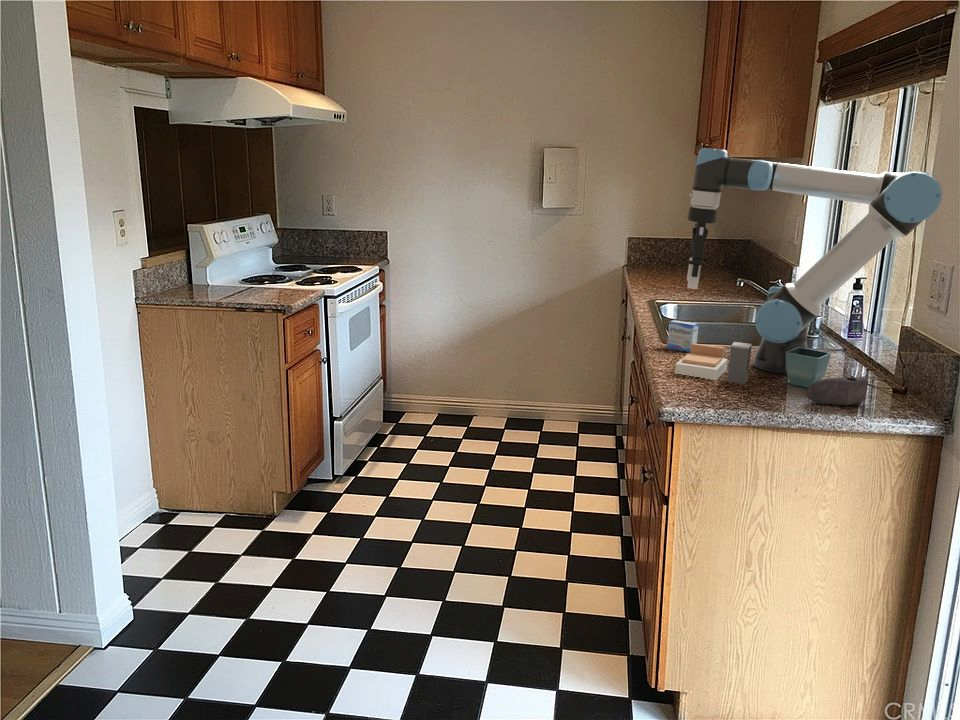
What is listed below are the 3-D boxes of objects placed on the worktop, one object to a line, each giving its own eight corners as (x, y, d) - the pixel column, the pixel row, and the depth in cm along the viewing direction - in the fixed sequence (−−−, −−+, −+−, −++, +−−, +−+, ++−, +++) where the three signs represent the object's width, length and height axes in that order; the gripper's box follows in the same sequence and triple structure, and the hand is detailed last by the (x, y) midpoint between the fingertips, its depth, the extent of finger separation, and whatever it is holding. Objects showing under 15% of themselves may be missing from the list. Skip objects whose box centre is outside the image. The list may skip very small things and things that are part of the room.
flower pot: (814, 392, 206) (819, 358, 203) (780, 384, 211) (785, 351, 209) (827, 385, 212) (831, 352, 210) (793, 378, 218) (798, 346, 216)
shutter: (723, 358, 224) (724, 347, 223) (715, 366, 215) (716, 354, 214) (691, 354, 228) (692, 343, 227) (681, 361, 219) (682, 350, 218)
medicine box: (666, 348, 248) (668, 321, 246) (671, 346, 252) (674, 319, 249) (691, 353, 244) (693, 325, 242) (696, 350, 247) (699, 322, 245)
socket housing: (726, 369, 225) (727, 359, 225) (715, 380, 213) (717, 369, 213) (687, 363, 230) (688, 353, 230) (674, 374, 218) (675, 363, 217)
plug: (747, 380, 215) (751, 344, 212) (744, 384, 211) (748, 347, 208) (730, 377, 217) (734, 341, 214) (726, 381, 213) (731, 344, 210)
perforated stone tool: (809, 406, 193) (813, 378, 192) (801, 400, 198) (805, 373, 197) (872, 409, 193) (876, 381, 191) (862, 402, 198) (866, 375, 196)
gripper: (689, 203, 230) (677, 276, 235) (690, 209, 206) (678, 290, 212) (716, 205, 228) (704, 279, 234) (720, 212, 205) (707, 293, 210)
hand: (691, 284), depth 223 cm, fingers open, 13 cm apart
